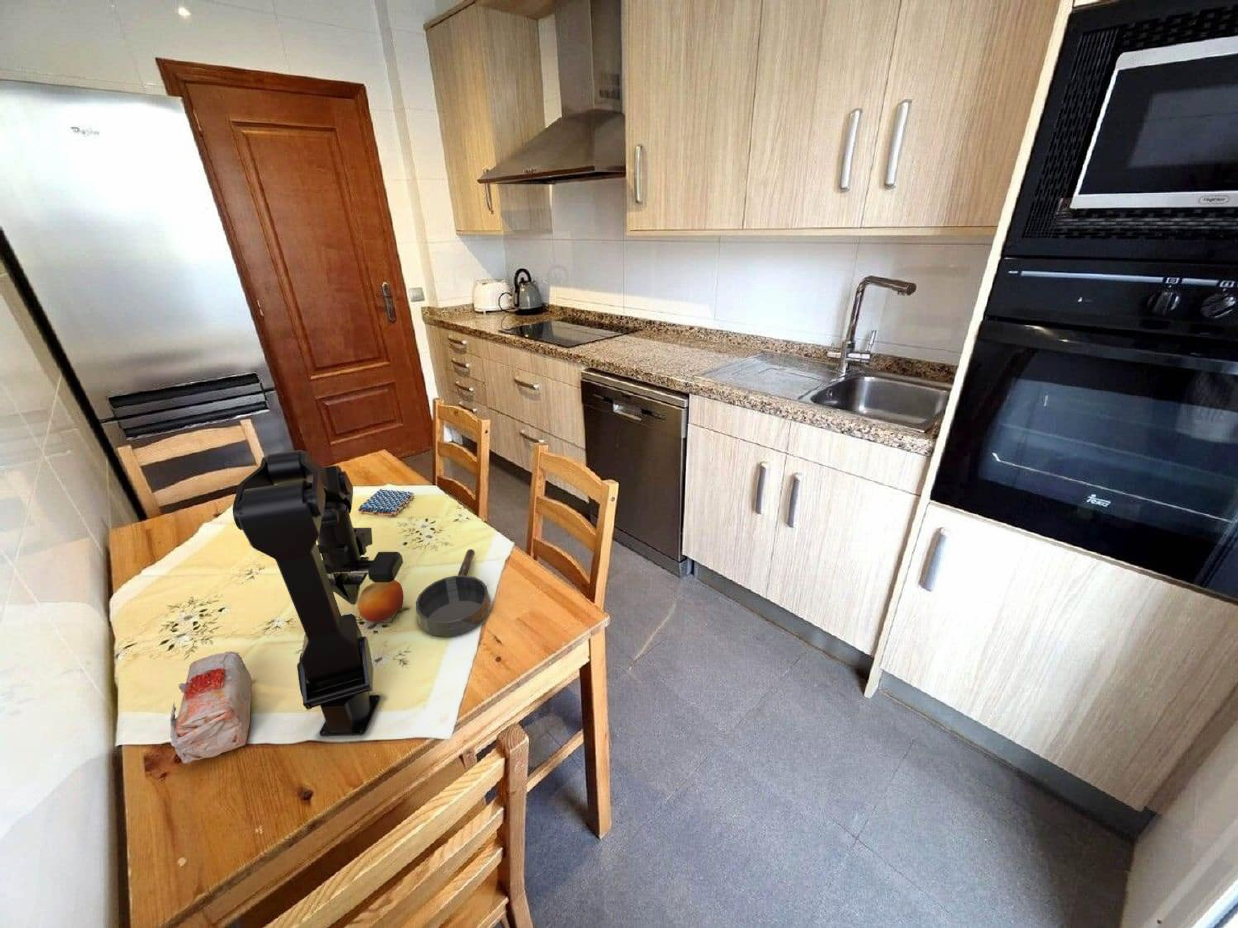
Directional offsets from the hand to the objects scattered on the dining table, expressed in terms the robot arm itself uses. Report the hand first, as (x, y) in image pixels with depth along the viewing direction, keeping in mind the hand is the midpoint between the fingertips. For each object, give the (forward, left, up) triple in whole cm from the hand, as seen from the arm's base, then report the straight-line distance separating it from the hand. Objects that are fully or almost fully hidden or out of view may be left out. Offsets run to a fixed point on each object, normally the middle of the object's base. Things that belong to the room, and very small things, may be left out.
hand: (354, 603), depth 94 cm
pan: (0, -18, -3) cm, 18 cm away
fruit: (0, -5, -3) cm, 6 cm away
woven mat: (+40, +9, -3) cm, 41 cm away
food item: (-23, +10, -3) cm, 25 cm away
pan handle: (+11, -18, -1) cm, 21 cm away
